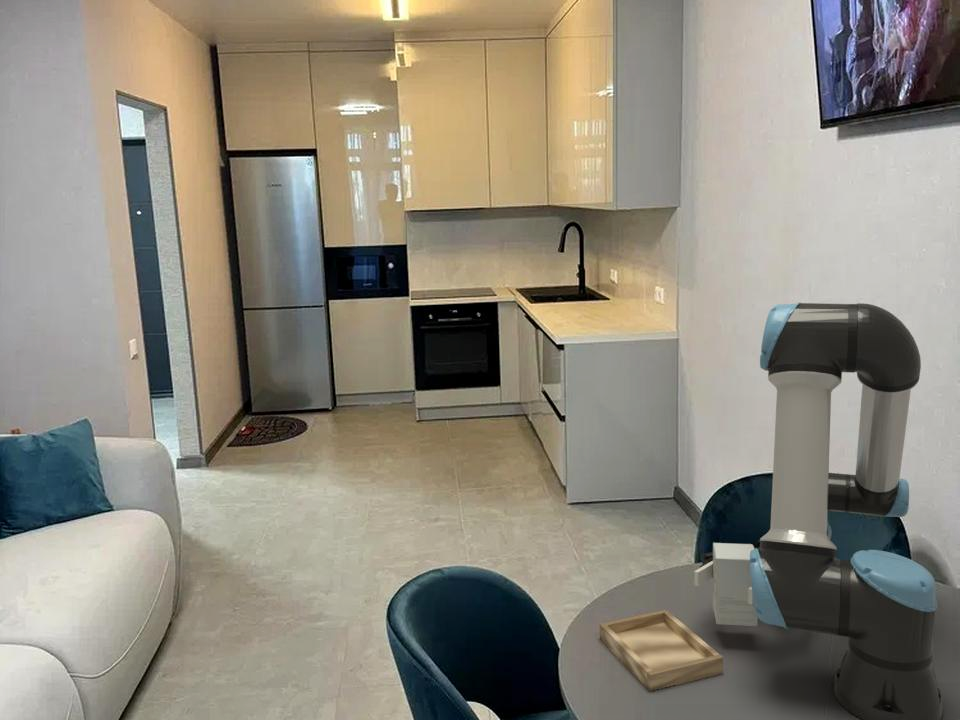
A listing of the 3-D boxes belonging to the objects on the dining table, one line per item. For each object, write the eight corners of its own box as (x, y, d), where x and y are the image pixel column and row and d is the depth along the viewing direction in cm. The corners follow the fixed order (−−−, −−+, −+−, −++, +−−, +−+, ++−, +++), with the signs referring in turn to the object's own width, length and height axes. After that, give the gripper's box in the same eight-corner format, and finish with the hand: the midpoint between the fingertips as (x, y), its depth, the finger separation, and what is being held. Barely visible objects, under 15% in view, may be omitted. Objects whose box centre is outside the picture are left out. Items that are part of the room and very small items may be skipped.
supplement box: (752, 608, 145) (754, 543, 143) (758, 627, 138) (759, 559, 136) (711, 605, 147) (712, 541, 145) (714, 624, 140) (715, 557, 138)
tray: (722, 673, 133) (723, 657, 133) (650, 691, 129) (650, 675, 128) (665, 623, 150) (665, 609, 150) (599, 638, 146) (599, 623, 145)
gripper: (838, 585, 146) (783, 628, 131) (728, 553, 162) (667, 588, 147) (840, 547, 145) (784, 586, 130) (729, 518, 161) (667, 550, 146)
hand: (722, 587), depth 139 cm, fingers closed on supplement box, 10 cm apart
